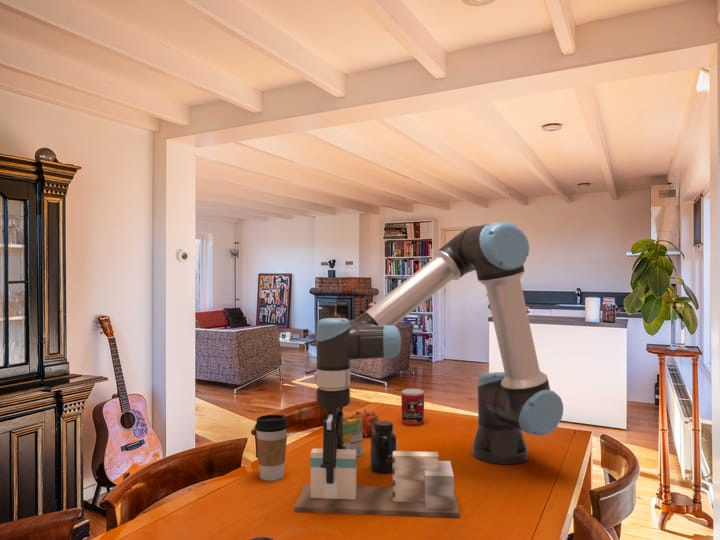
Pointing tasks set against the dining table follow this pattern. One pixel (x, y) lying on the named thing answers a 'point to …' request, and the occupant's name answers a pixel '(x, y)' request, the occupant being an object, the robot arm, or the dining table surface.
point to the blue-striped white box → (345, 474)
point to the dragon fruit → (367, 421)
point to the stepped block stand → (398, 491)
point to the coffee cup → (271, 446)
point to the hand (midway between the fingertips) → (333, 488)
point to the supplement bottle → (383, 447)
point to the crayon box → (353, 433)
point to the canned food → (412, 407)
